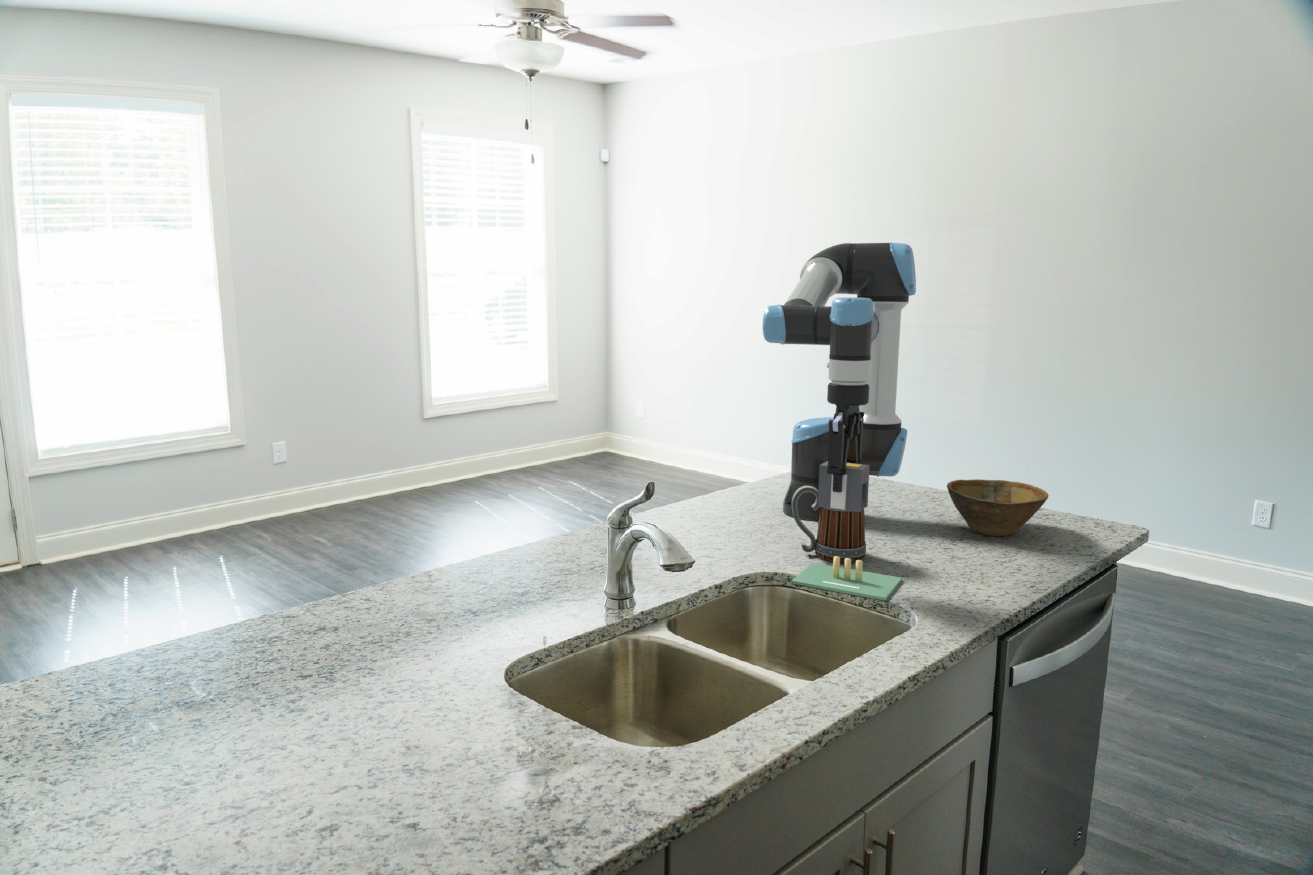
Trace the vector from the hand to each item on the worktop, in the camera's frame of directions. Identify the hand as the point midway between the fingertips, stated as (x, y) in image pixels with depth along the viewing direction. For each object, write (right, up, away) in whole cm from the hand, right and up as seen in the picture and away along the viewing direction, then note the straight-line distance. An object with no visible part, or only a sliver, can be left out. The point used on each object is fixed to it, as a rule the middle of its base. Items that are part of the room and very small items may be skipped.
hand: (843, 504), depth 167 cm
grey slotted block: (0, 0, 0) cm, 0 cm away
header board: (+1, -15, +2) cm, 15 cm away
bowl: (+42, -9, +36) cm, 56 cm away
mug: (+1, -12, +18) cm, 22 cm away
